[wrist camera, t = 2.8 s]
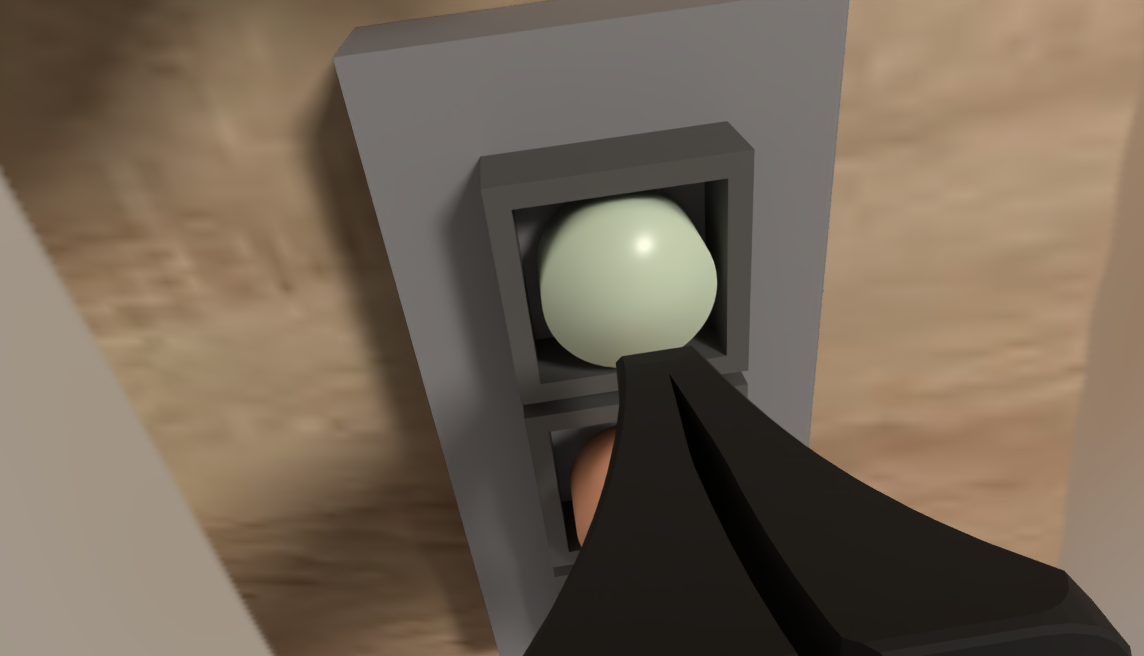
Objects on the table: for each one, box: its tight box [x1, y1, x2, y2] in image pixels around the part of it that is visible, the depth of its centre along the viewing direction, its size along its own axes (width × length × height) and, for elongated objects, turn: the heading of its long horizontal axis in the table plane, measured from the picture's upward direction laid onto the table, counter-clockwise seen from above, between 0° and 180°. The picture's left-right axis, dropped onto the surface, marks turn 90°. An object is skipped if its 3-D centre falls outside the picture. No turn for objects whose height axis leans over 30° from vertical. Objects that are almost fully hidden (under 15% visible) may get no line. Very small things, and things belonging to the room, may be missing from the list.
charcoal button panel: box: [333, 0, 849, 656], centre depth 20 cm, size 21×10×5 cm, turn 6°
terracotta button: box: [570, 426, 616, 547], centre depth 18 cm, size 4×4×2 cm
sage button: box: [537, 189, 717, 368], centre depth 15 cm, size 4×4×2 cm
